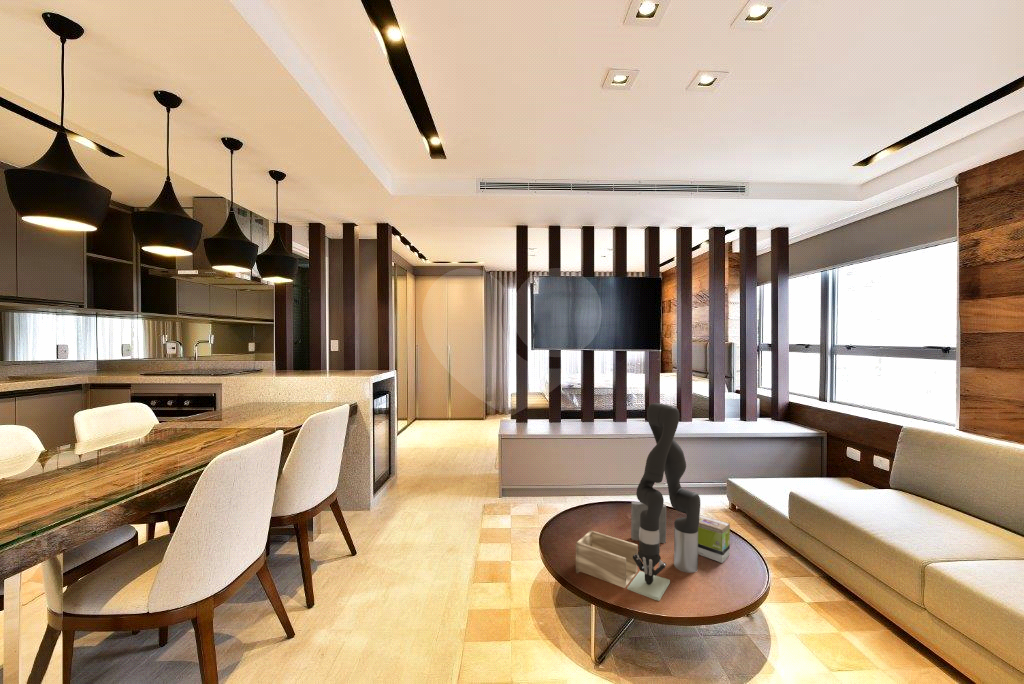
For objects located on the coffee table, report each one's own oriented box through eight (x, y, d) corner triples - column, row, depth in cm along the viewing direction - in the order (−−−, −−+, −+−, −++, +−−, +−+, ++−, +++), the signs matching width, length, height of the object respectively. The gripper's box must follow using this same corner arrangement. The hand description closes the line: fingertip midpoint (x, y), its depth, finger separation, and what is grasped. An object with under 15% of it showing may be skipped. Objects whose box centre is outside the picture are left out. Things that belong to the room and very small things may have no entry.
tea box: (730, 555, 186) (730, 522, 185) (722, 564, 179) (722, 530, 178) (696, 543, 196) (696, 512, 196) (687, 551, 189) (687, 518, 189)
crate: (590, 558, 183) (590, 530, 183) (637, 574, 170) (637, 544, 170) (575, 572, 172) (575, 542, 171) (624, 591, 159) (625, 559, 159)
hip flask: (631, 540, 199) (631, 498, 199) (630, 536, 203) (631, 495, 203) (666, 543, 196) (666, 501, 196) (664, 539, 200) (665, 498, 200)
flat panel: (639, 570, 170) (669, 579, 163) (639, 573, 170) (670, 582, 163) (627, 587, 158) (658, 597, 151) (627, 590, 158) (659, 600, 151)
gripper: (669, 540, 159) (669, 584, 160) (636, 530, 167) (635, 572, 168) (663, 548, 153) (663, 594, 154) (629, 537, 161) (628, 581, 161)
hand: (648, 583), depth 161 cm, fingers closed
